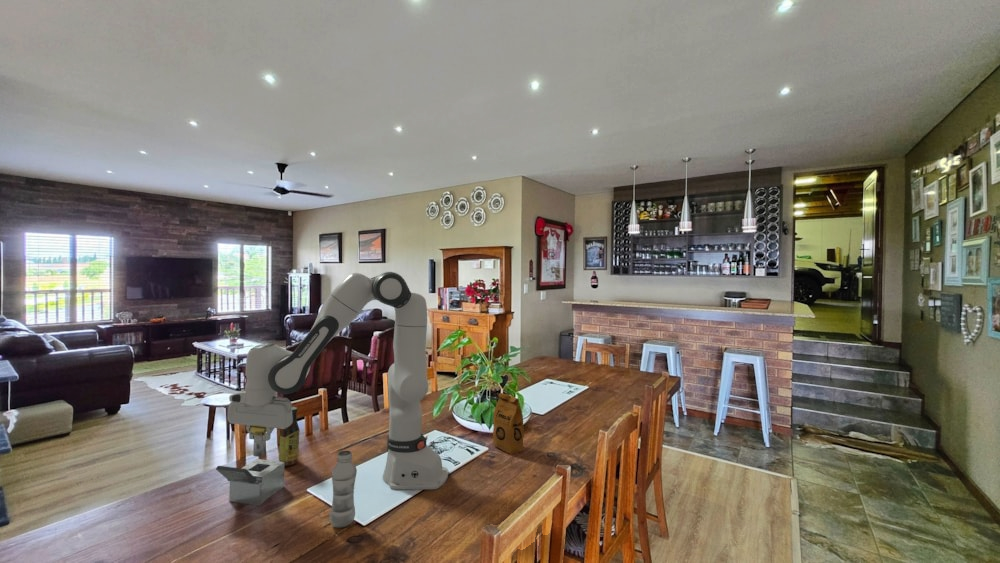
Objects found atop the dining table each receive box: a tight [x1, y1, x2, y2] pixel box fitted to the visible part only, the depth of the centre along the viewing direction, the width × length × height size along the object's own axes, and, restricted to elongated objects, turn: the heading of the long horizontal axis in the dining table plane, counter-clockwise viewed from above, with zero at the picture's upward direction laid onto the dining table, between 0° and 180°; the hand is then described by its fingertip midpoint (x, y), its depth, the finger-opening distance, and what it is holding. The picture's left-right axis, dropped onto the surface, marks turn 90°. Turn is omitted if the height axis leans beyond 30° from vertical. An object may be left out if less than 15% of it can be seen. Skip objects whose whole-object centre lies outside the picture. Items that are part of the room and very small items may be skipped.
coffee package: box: [492, 392, 525, 456], centre depth 167 cm, size 10×12×22 cm
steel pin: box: [250, 426, 267, 457], centre depth 128 cm, size 5×5×9 cm
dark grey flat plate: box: [215, 465, 259, 484], centre depth 119 cm, size 9×8×1 cm
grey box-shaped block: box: [228, 458, 285, 506], centre depth 127 cm, size 10×11×8 cm
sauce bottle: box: [278, 406, 301, 467], centre depth 148 cm, size 6×6×20 cm
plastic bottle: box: [329, 450, 358, 529], centre depth 114 cm, size 6×7×20 cm
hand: (259, 439), depth 128 cm, fingers closed on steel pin, 3 cm apart
